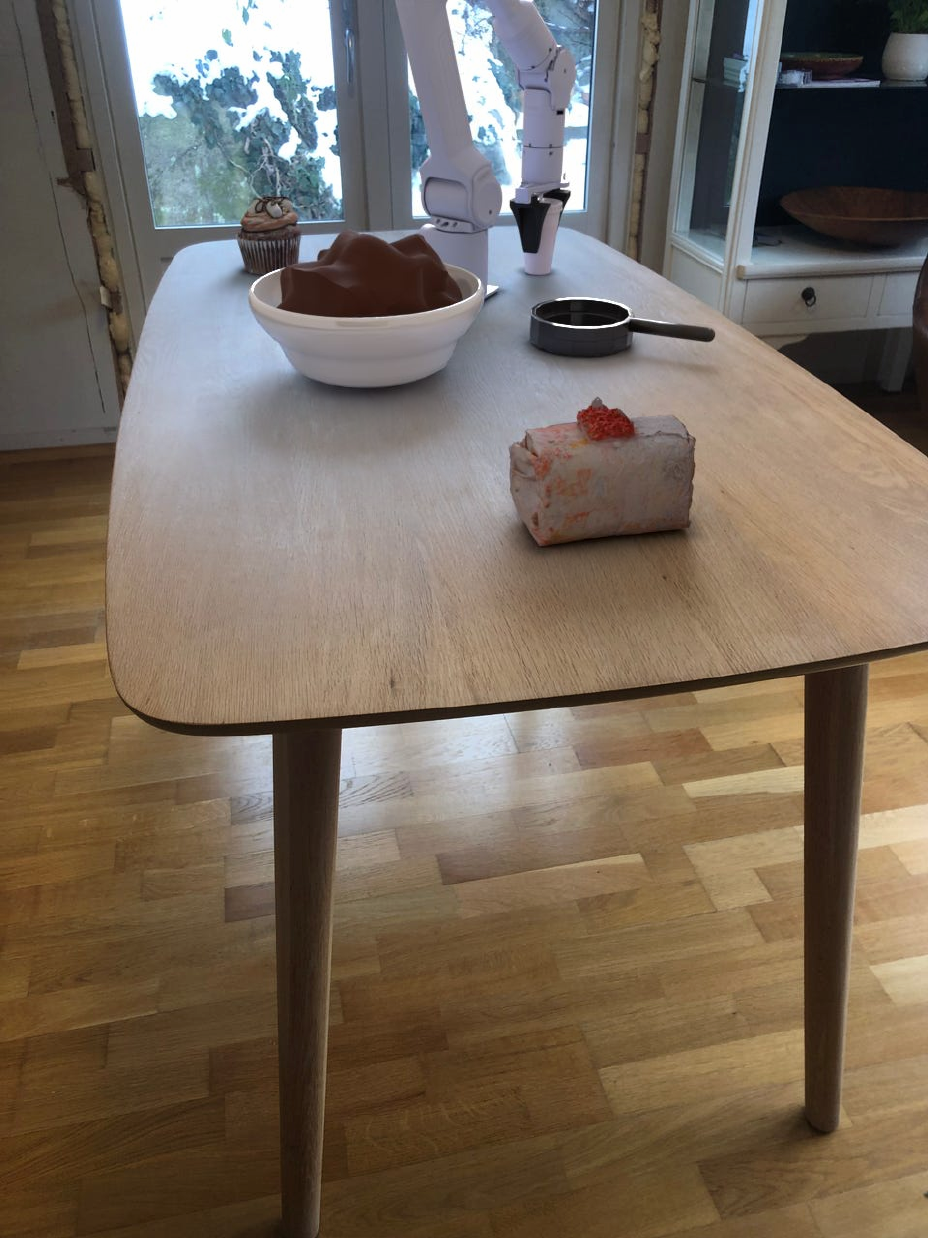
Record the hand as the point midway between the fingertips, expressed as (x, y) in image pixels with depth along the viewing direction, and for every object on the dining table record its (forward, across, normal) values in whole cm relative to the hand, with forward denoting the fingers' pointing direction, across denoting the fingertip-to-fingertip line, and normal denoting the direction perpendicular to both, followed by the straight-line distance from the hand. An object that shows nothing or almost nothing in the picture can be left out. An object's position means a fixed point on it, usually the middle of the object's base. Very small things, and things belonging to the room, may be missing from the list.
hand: (538, 247), depth 140 cm
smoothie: (+4, 0, 0) cm, 4 cm away
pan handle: (+1, -28, -27) cm, 39 cm away
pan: (+3, -28, -16) cm, 33 cm away
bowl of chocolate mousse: (+4, -48, +1) cm, 48 cm away
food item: (+4, -71, -33) cm, 78 cm away
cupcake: (+4, -15, +37) cm, 40 cm away
